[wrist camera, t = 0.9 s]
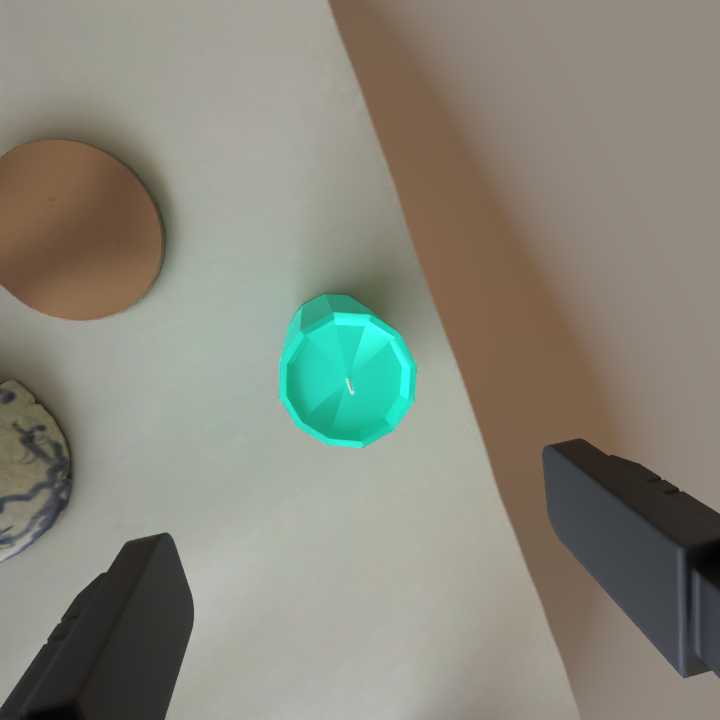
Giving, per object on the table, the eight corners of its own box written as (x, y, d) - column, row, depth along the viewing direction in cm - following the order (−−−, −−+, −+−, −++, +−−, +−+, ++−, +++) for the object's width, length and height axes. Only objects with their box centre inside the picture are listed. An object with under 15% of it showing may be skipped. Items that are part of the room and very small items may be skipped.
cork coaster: (-52, 258, 26) (-60, 258, 25) (31, 101, 24) (24, 98, 24) (114, 351, 28) (110, 353, 27) (197, 211, 27) (194, 210, 26)
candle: (387, 372, 30) (438, 443, 18) (299, 392, 30) (295, 479, 18) (369, 283, 29) (413, 300, 17) (277, 304, 28) (256, 335, 17)
